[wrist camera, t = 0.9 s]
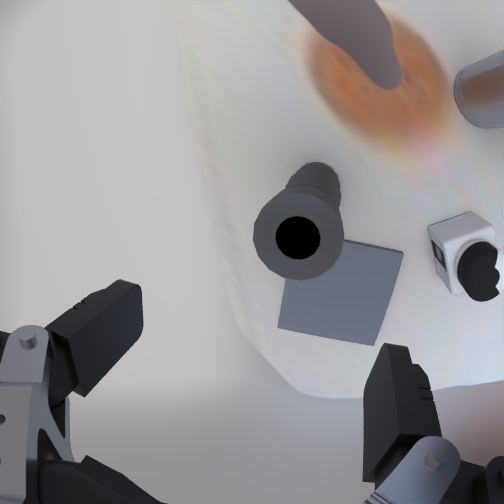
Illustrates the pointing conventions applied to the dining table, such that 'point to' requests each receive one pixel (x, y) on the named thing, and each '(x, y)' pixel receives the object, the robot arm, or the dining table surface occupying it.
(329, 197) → the candle holder
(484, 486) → the robot arm
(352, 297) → the mat
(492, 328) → the dining table surface
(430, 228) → the container
